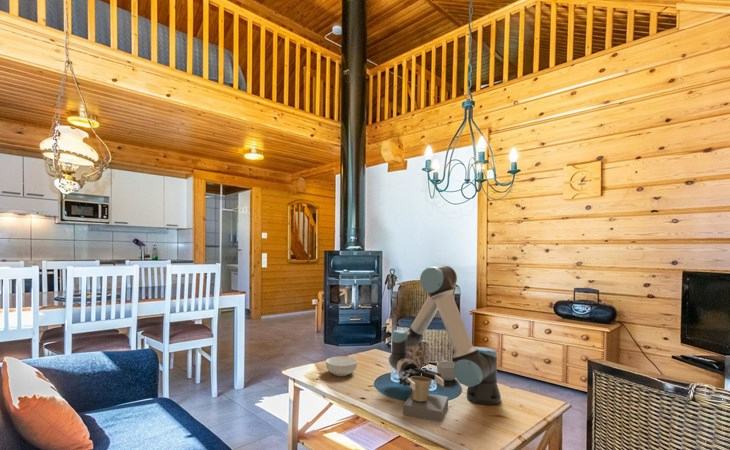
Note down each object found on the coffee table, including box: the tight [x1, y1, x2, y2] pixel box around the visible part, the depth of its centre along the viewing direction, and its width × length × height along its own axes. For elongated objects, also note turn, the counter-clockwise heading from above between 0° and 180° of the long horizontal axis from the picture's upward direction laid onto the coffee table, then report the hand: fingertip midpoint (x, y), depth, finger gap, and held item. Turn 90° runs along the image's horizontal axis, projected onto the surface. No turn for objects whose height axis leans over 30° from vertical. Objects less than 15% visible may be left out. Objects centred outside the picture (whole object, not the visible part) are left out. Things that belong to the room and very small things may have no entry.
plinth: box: [402, 392, 449, 423], centre depth 164 cm, size 16×16×4 cm
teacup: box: [436, 359, 456, 382], centre depth 203 cm, size 14×11×8 cm
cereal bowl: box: [325, 355, 358, 377], centre depth 207 cm, size 17×17×7 cm
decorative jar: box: [407, 338, 430, 370], centre depth 220 cm, size 12×12×18 cm
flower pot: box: [410, 376, 433, 402], centre depth 164 cm, size 9×9×9 cm
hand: (429, 385), depth 162 cm, fingers open, 13 cm apart
